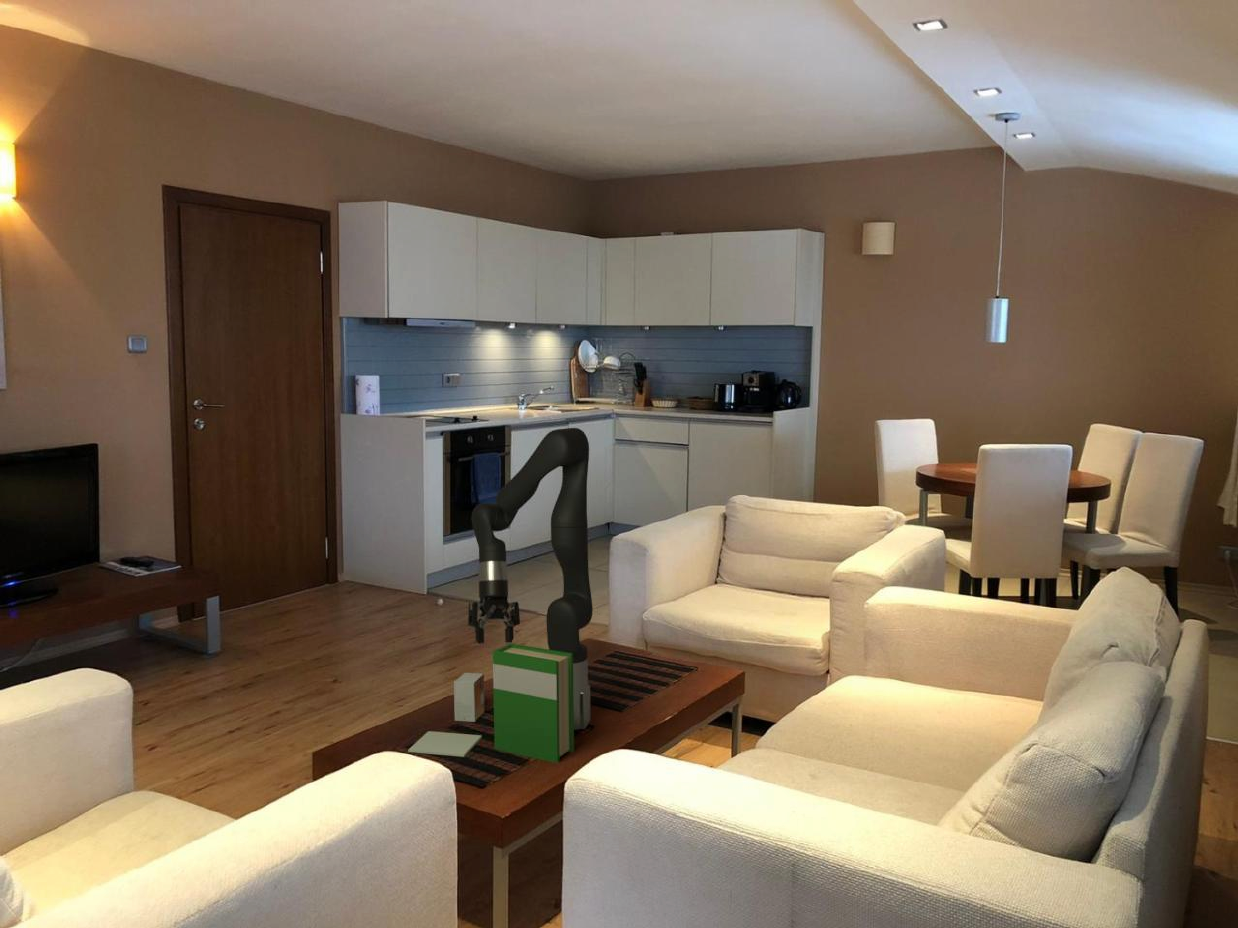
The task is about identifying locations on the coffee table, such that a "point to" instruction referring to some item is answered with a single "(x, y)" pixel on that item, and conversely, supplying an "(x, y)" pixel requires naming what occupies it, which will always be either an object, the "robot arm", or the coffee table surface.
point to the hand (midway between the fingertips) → (495, 642)
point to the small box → (469, 697)
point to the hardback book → (533, 701)
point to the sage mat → (445, 743)
